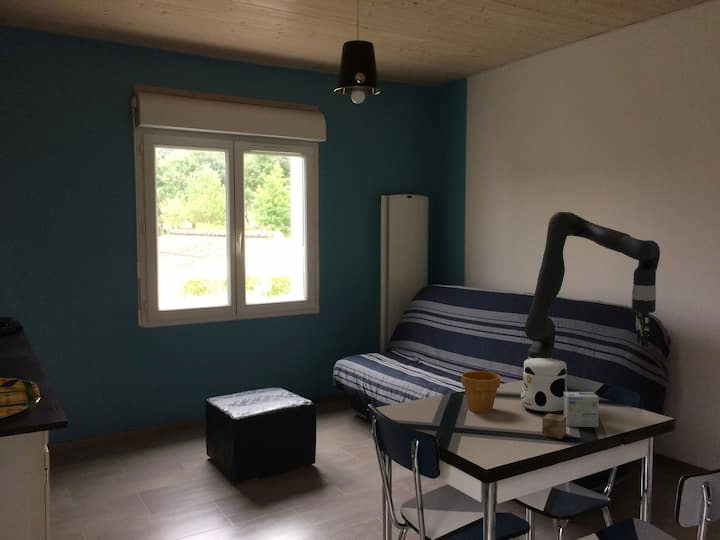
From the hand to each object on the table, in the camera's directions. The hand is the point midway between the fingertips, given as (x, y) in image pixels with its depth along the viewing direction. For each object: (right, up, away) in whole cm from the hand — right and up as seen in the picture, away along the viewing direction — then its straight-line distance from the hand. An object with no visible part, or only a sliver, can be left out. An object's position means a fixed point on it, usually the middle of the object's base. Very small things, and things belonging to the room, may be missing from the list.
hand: (642, 344), depth 213 cm
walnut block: (-34, -29, -11) cm, 46 cm away
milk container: (-29, -27, +17) cm, 43 cm away
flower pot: (-53, -27, +18) cm, 62 cm away
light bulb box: (-21, -28, 0) cm, 35 cm away
